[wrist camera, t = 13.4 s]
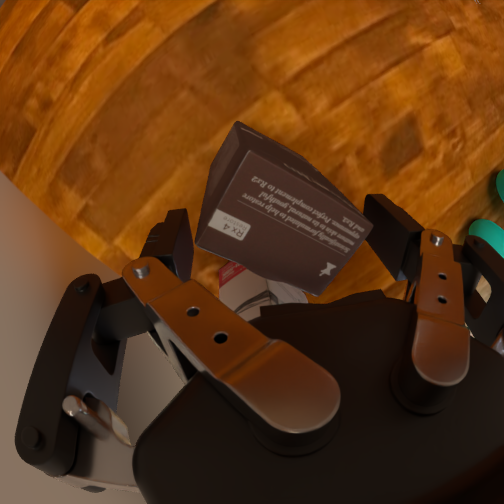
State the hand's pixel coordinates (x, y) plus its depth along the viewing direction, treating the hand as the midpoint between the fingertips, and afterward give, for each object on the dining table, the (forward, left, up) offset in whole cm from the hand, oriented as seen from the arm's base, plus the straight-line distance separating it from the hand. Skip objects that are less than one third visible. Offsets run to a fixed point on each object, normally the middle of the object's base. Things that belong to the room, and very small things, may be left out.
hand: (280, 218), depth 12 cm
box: (0, 0, -10) cm, 10 cm away
